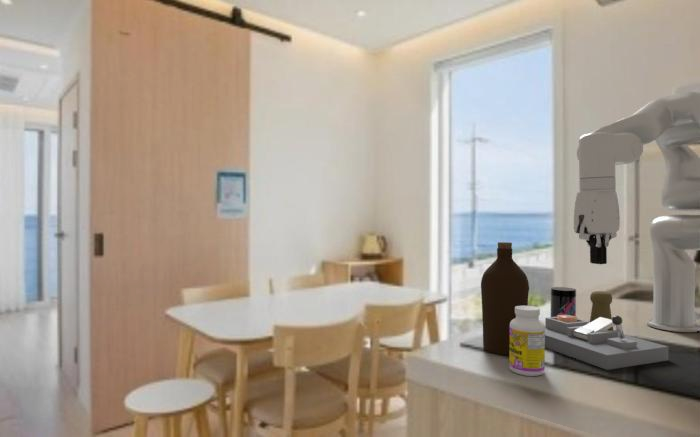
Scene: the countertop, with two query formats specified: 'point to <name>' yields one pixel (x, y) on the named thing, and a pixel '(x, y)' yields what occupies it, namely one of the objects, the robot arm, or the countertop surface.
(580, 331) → the rocker
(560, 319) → the button
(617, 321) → the toggle lever
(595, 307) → the cork
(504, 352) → the olive oil
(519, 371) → the supplement bottle
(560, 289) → the supplement container
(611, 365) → the panel
